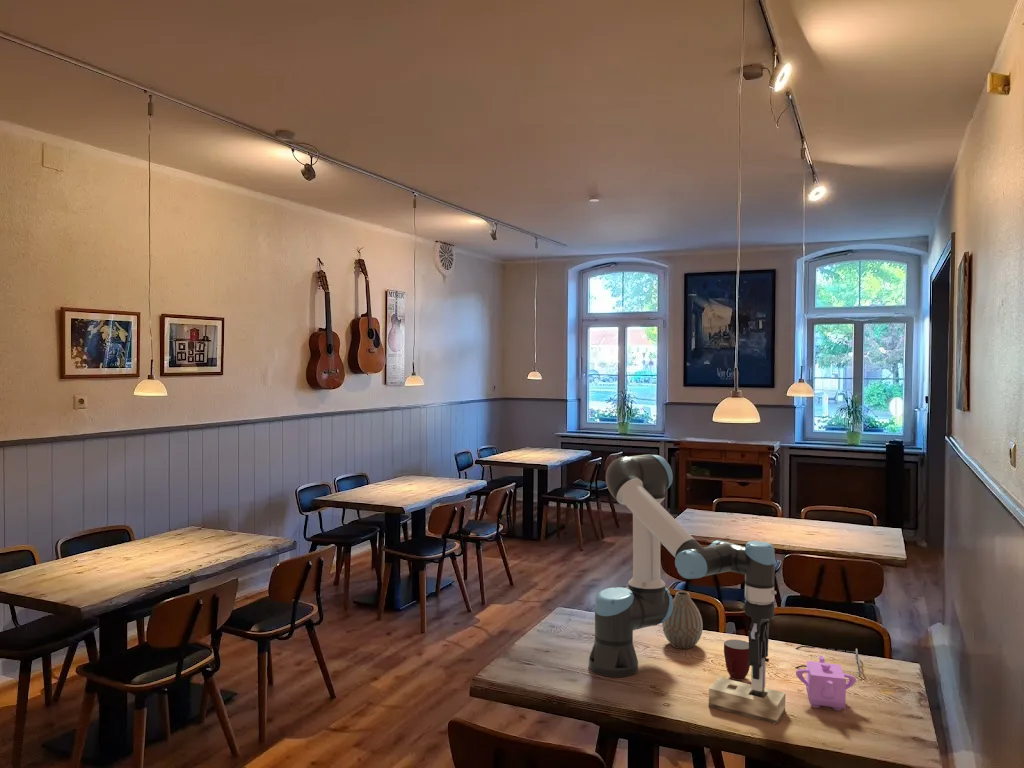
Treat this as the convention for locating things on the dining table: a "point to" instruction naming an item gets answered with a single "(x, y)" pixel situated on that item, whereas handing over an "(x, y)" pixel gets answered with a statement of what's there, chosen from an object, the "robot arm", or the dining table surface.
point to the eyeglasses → (839, 650)
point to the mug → (737, 658)
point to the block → (746, 700)
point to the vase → (683, 622)
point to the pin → (759, 693)
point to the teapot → (826, 684)
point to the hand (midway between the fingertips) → (758, 687)
